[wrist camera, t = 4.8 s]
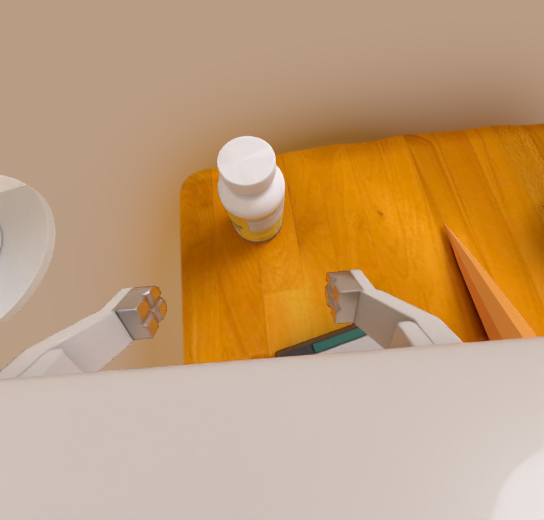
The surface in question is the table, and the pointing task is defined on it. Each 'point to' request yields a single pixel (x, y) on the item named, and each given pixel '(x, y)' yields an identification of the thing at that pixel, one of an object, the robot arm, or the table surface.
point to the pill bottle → (251, 188)
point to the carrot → (489, 297)
